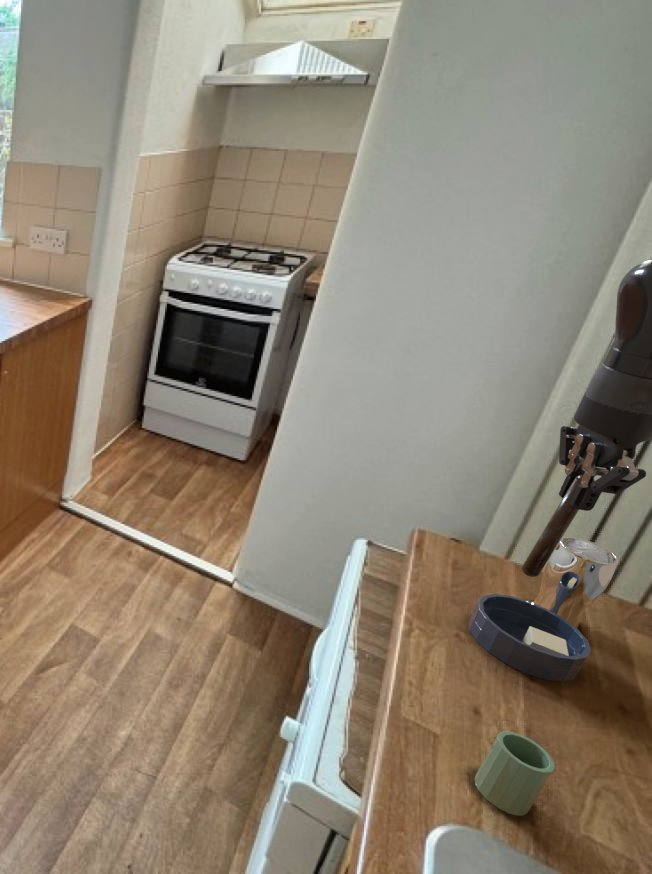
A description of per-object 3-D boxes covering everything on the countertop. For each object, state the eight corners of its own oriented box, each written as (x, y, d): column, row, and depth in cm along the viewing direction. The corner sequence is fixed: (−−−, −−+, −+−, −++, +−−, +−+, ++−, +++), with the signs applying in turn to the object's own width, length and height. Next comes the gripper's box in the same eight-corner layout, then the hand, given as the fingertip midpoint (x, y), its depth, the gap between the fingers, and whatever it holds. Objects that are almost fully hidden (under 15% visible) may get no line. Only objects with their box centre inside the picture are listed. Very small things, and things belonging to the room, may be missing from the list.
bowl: (543, 630, 100) (557, 605, 98) (596, 696, 89) (613, 669, 87) (451, 610, 104) (463, 585, 102) (491, 671, 93) (505, 645, 90)
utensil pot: (512, 783, 77) (539, 738, 74) (536, 824, 73) (565, 778, 70) (465, 770, 79) (489, 725, 76) (485, 809, 74) (511, 764, 71)
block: (555, 658, 94) (565, 639, 92) (558, 675, 91) (569, 656, 90) (520, 644, 96) (529, 625, 95) (521, 660, 93) (532, 641, 92)
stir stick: (536, 575, 95) (597, 475, 87) (536, 581, 93) (598, 481, 86) (519, 568, 96) (577, 469, 89) (519, 574, 95) (579, 474, 87)
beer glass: (525, 597, 106) (560, 529, 101) (582, 621, 102) (621, 551, 96) (520, 617, 102) (555, 547, 97) (578, 644, 97) (620, 572, 92)
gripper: (704, 427, 76) (642, 538, 82) (624, 383, 88) (575, 482, 94) (626, 418, 78) (571, 526, 84) (559, 376, 90) (515, 473, 96)
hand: (573, 502), depth 89 cm, fingers closed on stir stick, 2 cm apart
